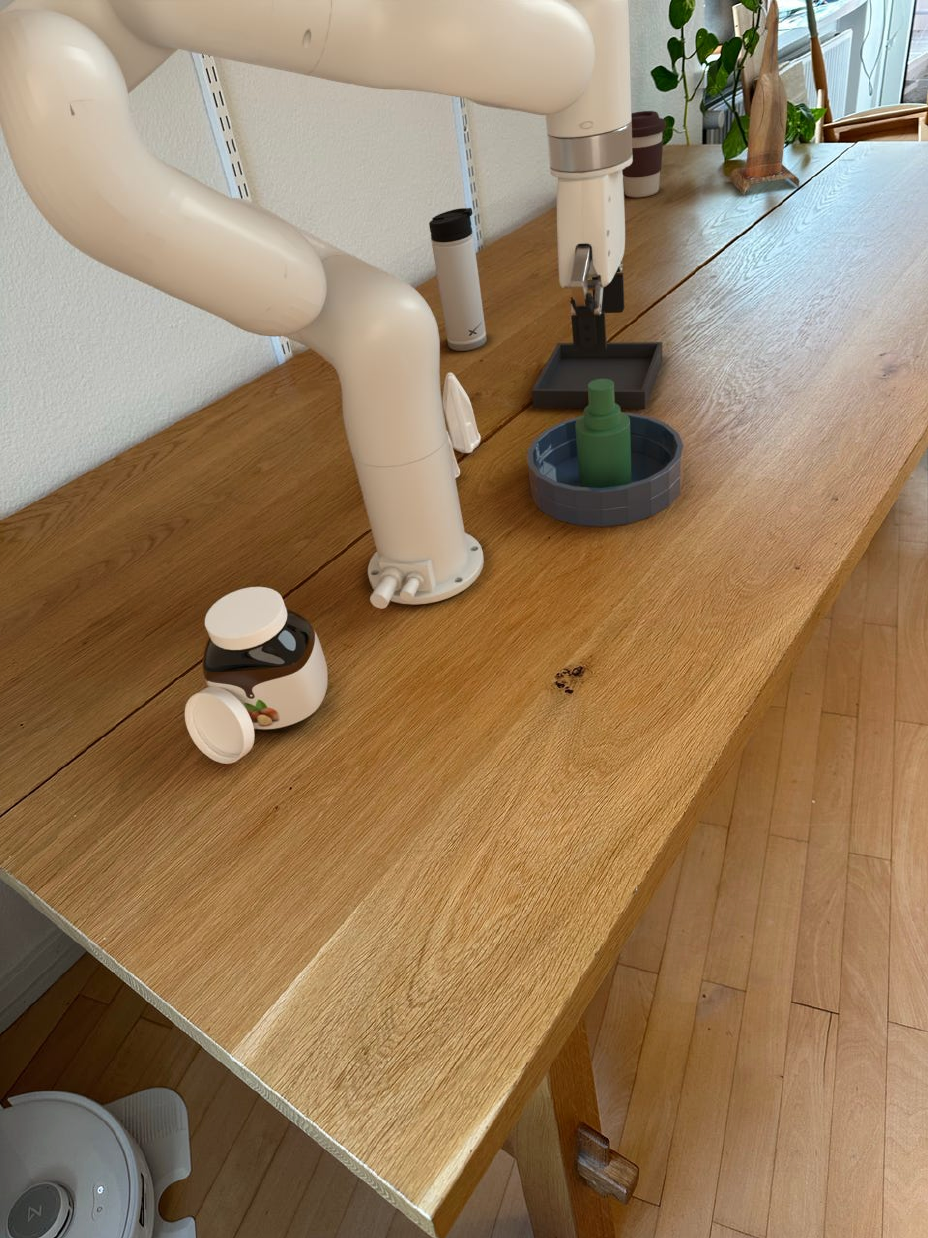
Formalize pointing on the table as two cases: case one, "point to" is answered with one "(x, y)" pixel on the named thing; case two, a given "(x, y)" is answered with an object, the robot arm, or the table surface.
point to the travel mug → (458, 279)
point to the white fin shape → (459, 419)
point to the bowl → (648, 494)
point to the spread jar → (254, 674)
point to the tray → (599, 375)
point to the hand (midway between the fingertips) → (600, 331)
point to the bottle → (603, 439)
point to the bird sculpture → (766, 118)
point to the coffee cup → (645, 155)
